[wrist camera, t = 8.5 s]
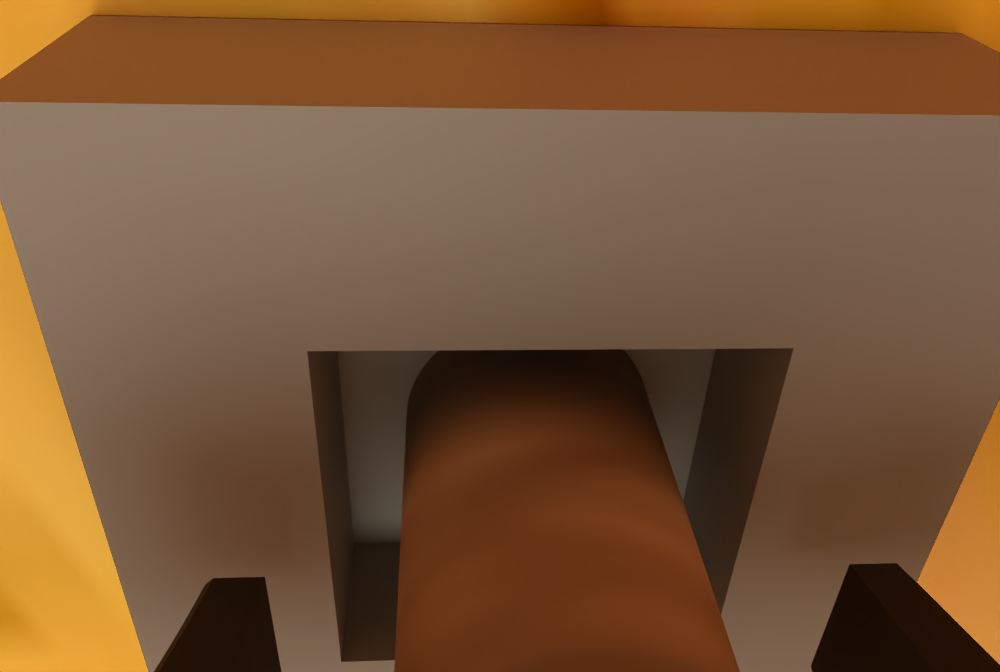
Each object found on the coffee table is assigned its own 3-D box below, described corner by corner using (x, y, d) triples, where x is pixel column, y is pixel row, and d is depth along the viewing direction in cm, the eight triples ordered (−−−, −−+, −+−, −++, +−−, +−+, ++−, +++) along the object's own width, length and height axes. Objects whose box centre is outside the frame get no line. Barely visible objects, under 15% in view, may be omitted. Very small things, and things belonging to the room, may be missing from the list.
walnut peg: (660, 313, 13) (794, 642, 8) (633, 500, 15) (725, 849, 10) (401, 317, 13) (378, 659, 8) (410, 506, 15) (398, 866, 10)
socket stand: (961, 33, 12) (1127, 117, 9) (779, 594, 19) (841, 747, 16) (90, 15, 11) (-32, 101, 8) (222, 609, 18) (181, 773, 15)
